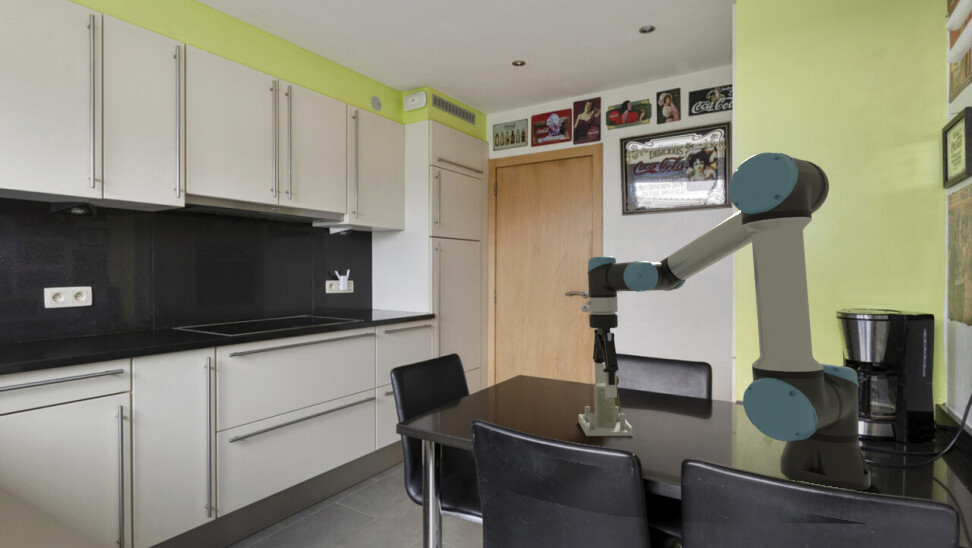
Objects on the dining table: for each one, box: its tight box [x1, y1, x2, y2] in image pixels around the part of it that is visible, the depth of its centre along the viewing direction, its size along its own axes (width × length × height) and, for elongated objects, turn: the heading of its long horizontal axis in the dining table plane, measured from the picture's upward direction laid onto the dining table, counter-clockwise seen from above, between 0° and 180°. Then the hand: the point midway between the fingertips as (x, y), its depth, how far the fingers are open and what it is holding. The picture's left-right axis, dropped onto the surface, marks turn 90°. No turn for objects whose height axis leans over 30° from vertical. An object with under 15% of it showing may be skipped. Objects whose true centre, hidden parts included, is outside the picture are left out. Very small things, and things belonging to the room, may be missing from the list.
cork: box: [615, 374, 622, 413], centre depth 149 cm, size 6×6×11 cm
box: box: [593, 382, 616, 427], centre depth 130 cm, size 5×4×11 cm
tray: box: [578, 405, 634, 437], centre depth 130 cm, size 12×12×5 cm
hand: (605, 391), depth 130 cm, fingers open, 13 cm apart
